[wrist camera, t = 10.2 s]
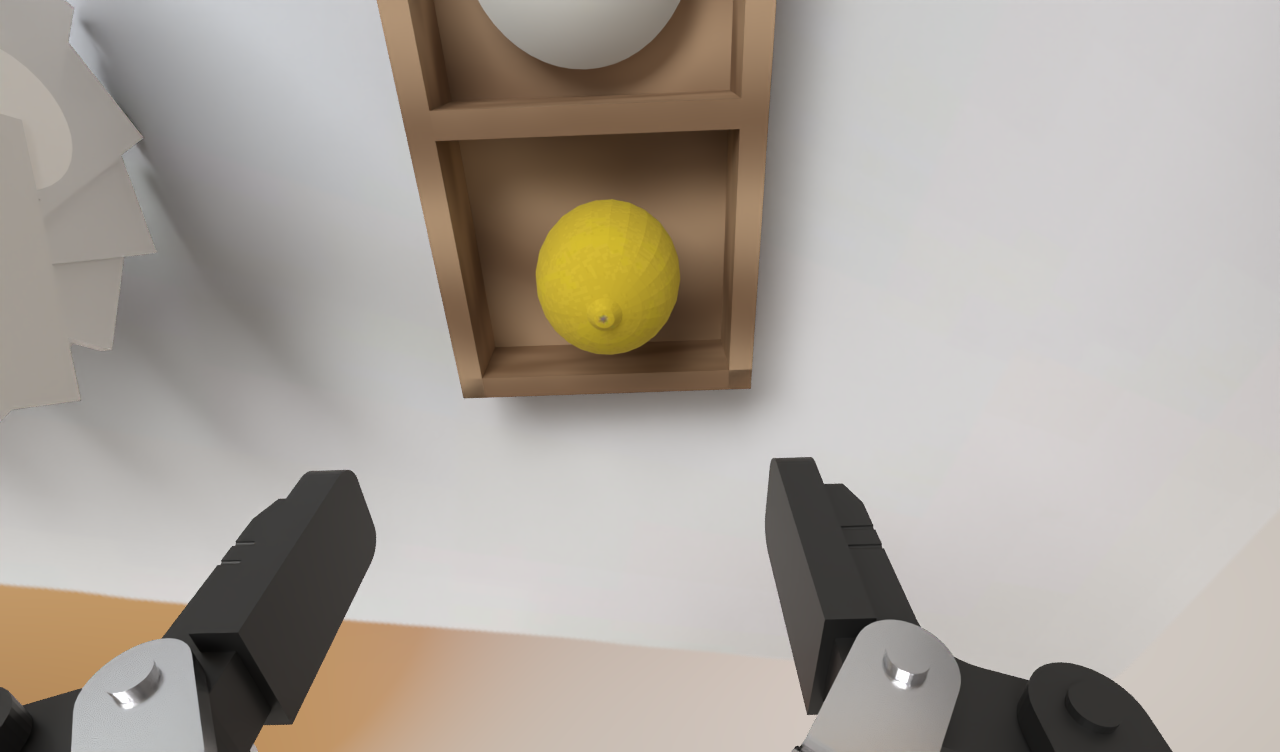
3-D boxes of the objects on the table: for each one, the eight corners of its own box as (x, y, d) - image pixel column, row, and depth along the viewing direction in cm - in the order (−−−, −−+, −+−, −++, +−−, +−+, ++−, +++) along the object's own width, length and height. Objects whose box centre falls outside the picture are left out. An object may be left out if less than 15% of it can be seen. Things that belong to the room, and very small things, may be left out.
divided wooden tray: (359, -281, 19) (301, -343, 16) (772, -302, 19) (800, -369, 16) (482, 357, 31) (463, 398, 28) (738, 348, 31) (750, 388, 27)
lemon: (624, 151, 25) (620, 202, 18) (697, 256, 27) (719, 336, 20) (523, 229, 27) (484, 303, 20) (600, 321, 29) (590, 416, 22)
